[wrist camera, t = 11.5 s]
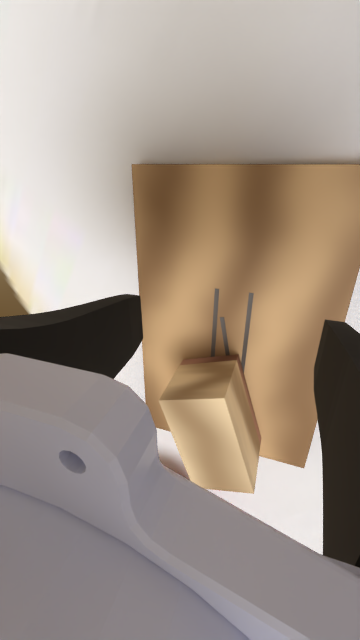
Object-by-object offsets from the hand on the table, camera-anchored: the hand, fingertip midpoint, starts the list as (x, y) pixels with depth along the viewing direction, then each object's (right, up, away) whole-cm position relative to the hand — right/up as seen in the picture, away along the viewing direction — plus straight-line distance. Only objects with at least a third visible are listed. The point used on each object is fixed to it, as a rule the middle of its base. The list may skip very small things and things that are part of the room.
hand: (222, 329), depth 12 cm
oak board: (+2, 0, +11) cm, 11 cm away
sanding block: (+2, -6, +12) cm, 14 cm away
